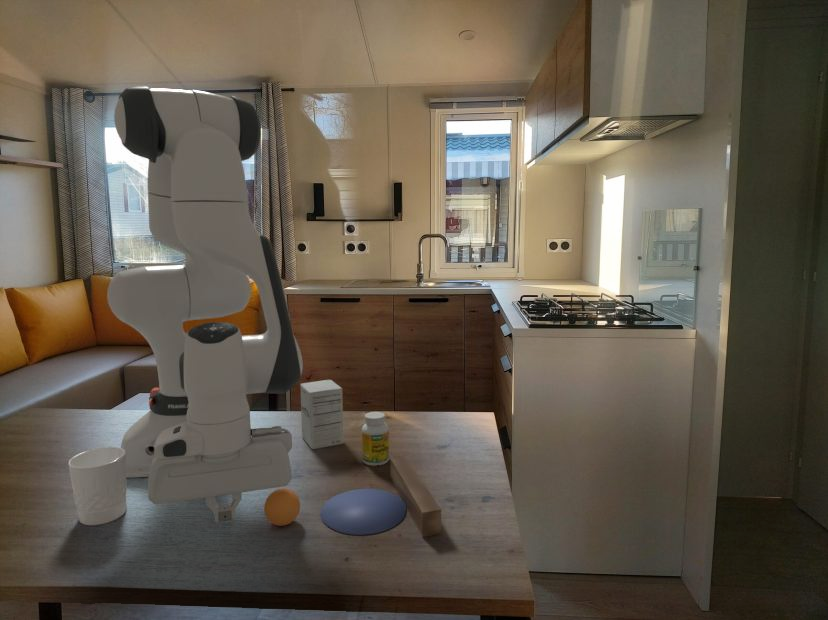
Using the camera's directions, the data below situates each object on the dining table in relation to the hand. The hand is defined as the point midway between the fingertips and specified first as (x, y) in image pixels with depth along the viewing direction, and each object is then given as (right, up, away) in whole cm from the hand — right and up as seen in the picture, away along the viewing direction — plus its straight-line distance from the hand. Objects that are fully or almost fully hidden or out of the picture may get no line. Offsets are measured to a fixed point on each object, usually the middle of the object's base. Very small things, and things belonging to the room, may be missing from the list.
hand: (225, 519), depth 82 cm
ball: (+8, +1, +3) cm, 9 cm away
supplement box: (+9, +3, +35) cm, 36 cm away
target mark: (+20, -1, +7) cm, 22 cm away
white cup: (-22, -2, +6) cm, 23 cm away
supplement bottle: (+21, +2, +25) cm, 33 cm away
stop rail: (+29, -1, +9) cm, 30 cm away
